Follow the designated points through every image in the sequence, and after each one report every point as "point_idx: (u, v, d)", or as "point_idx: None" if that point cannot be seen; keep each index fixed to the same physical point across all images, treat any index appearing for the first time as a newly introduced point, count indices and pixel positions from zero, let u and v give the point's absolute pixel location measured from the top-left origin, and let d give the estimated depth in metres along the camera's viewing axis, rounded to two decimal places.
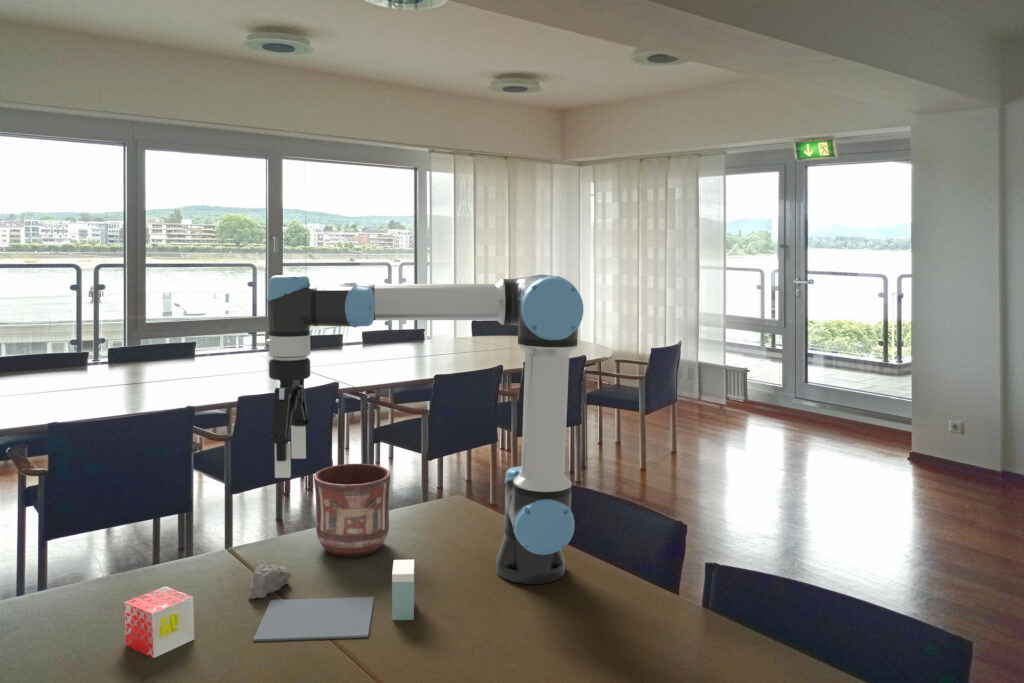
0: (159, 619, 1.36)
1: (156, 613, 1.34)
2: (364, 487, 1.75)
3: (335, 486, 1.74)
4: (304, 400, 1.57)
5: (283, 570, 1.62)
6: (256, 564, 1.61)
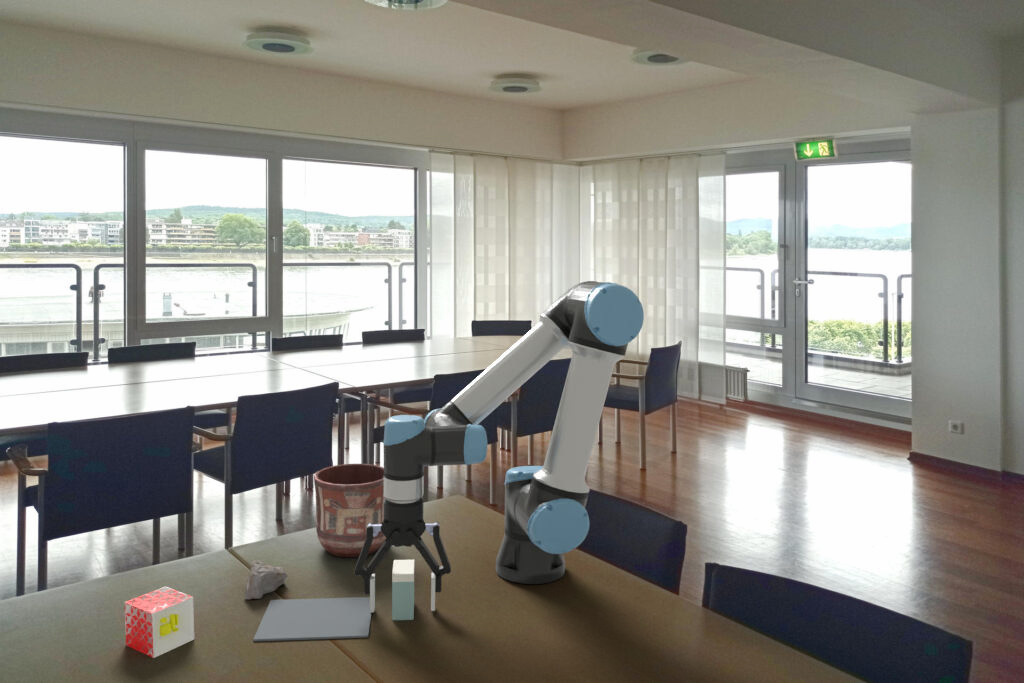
0: (159, 619, 1.36)
1: (156, 613, 1.34)
2: (364, 487, 1.75)
3: (335, 486, 1.74)
4: (438, 550, 1.50)
5: (279, 571, 1.61)
6: (252, 565, 1.60)
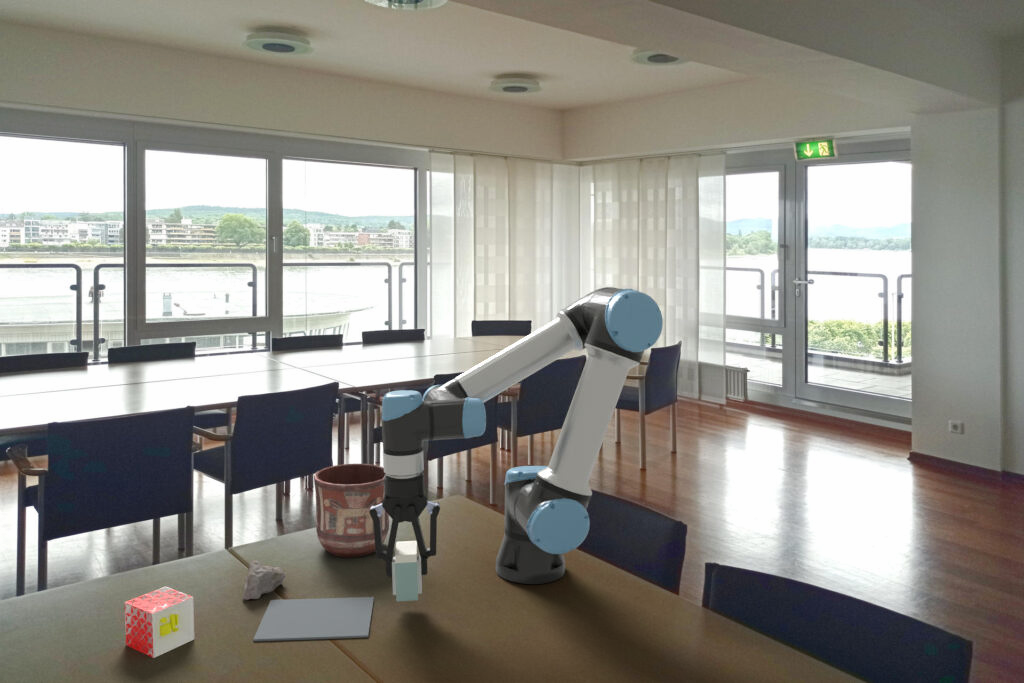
0: (159, 619, 1.36)
1: (156, 613, 1.34)
2: (364, 487, 1.75)
3: (335, 486, 1.74)
4: (431, 530, 1.50)
5: (277, 571, 1.61)
6: (250, 565, 1.60)
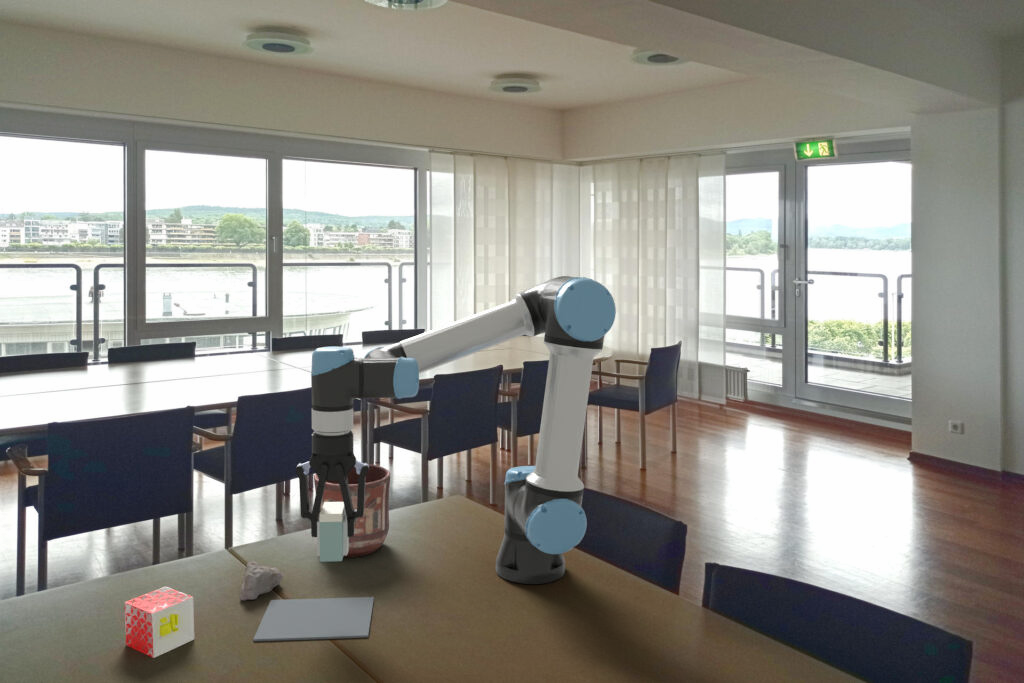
0: (159, 619, 1.36)
1: (156, 613, 1.34)
2: None
3: (335, 486, 1.74)
4: (359, 491, 1.46)
5: (274, 571, 1.61)
6: (247, 565, 1.60)
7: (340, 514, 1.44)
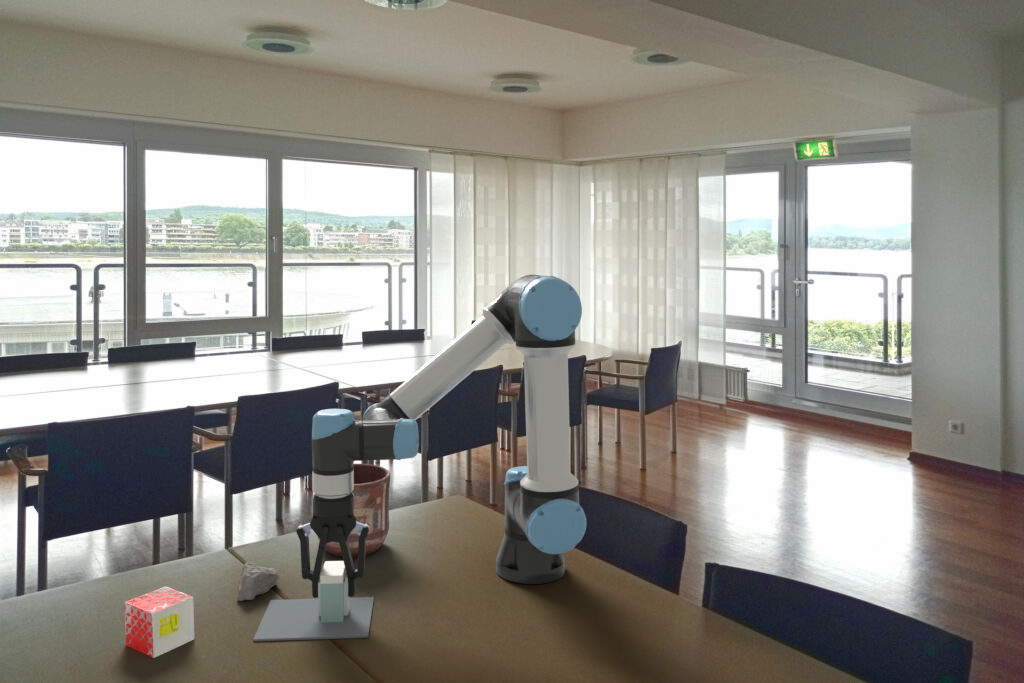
0: (159, 619, 1.36)
1: (156, 613, 1.34)
2: (364, 487, 1.75)
3: None
4: (359, 552, 1.48)
5: (272, 572, 1.61)
6: (244, 566, 1.60)
7: (341, 576, 1.46)
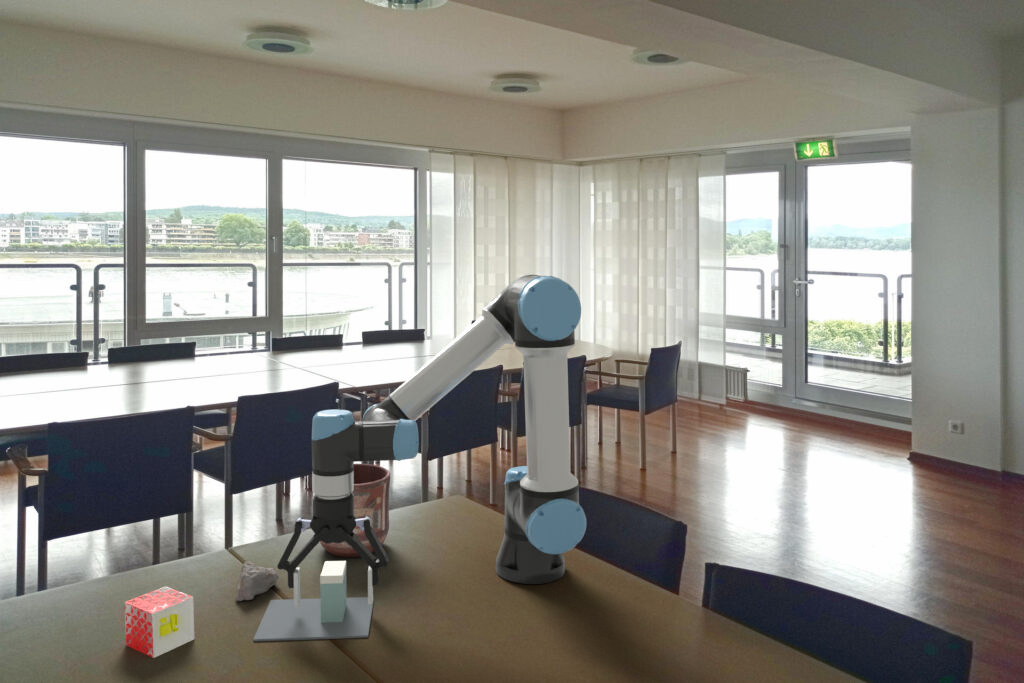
0: (159, 619, 1.36)
1: (156, 613, 1.34)
2: (364, 487, 1.75)
3: None
4: (372, 544, 1.48)
5: (271, 572, 1.61)
6: (243, 566, 1.60)
7: (341, 576, 1.46)
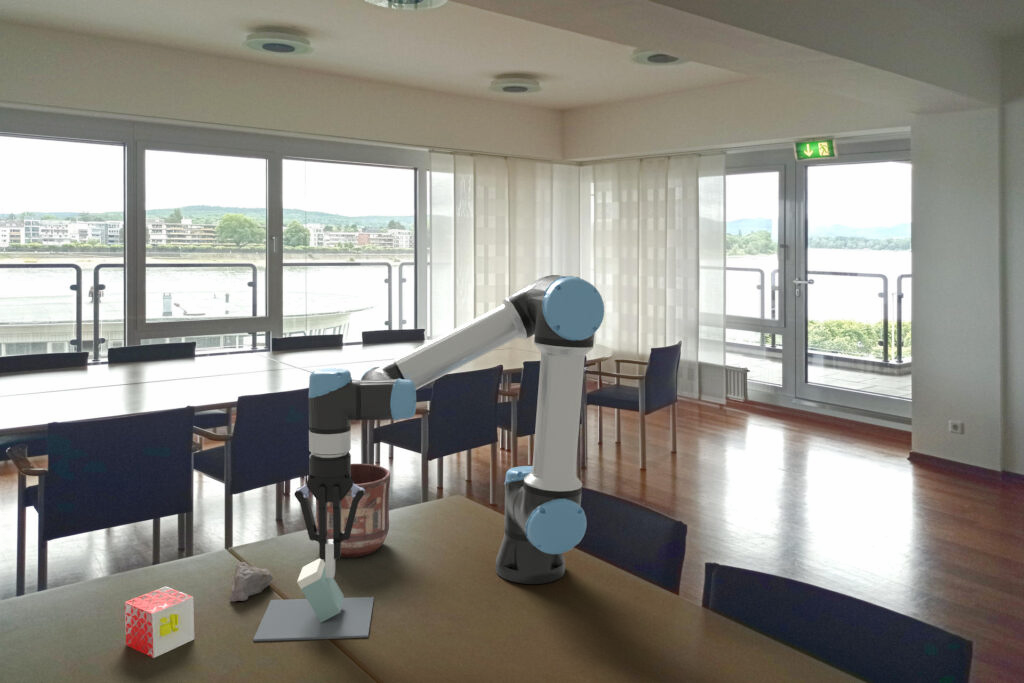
0: (159, 619, 1.36)
1: (156, 613, 1.34)
2: (364, 487, 1.75)
3: None
4: (350, 513, 1.47)
5: (265, 572, 1.60)
6: (237, 567, 1.59)
7: (315, 573, 1.45)
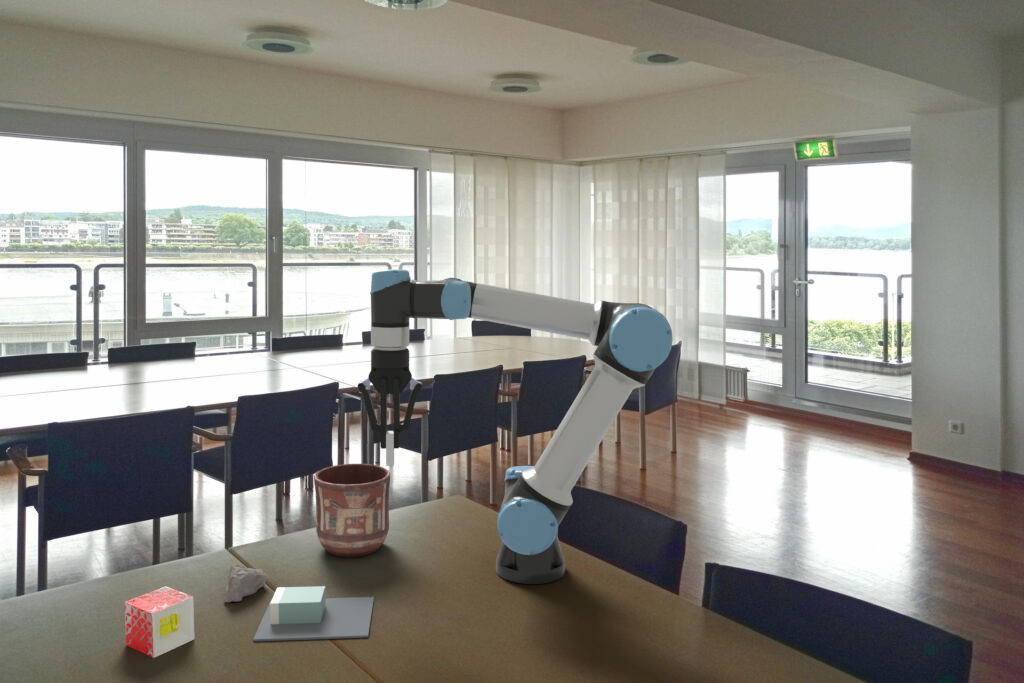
0: (159, 619, 1.36)
1: (156, 613, 1.34)
2: (364, 487, 1.75)
3: (335, 486, 1.74)
4: (409, 405, 1.57)
5: (259, 573, 1.60)
6: (232, 567, 1.59)
7: (271, 604, 1.45)
